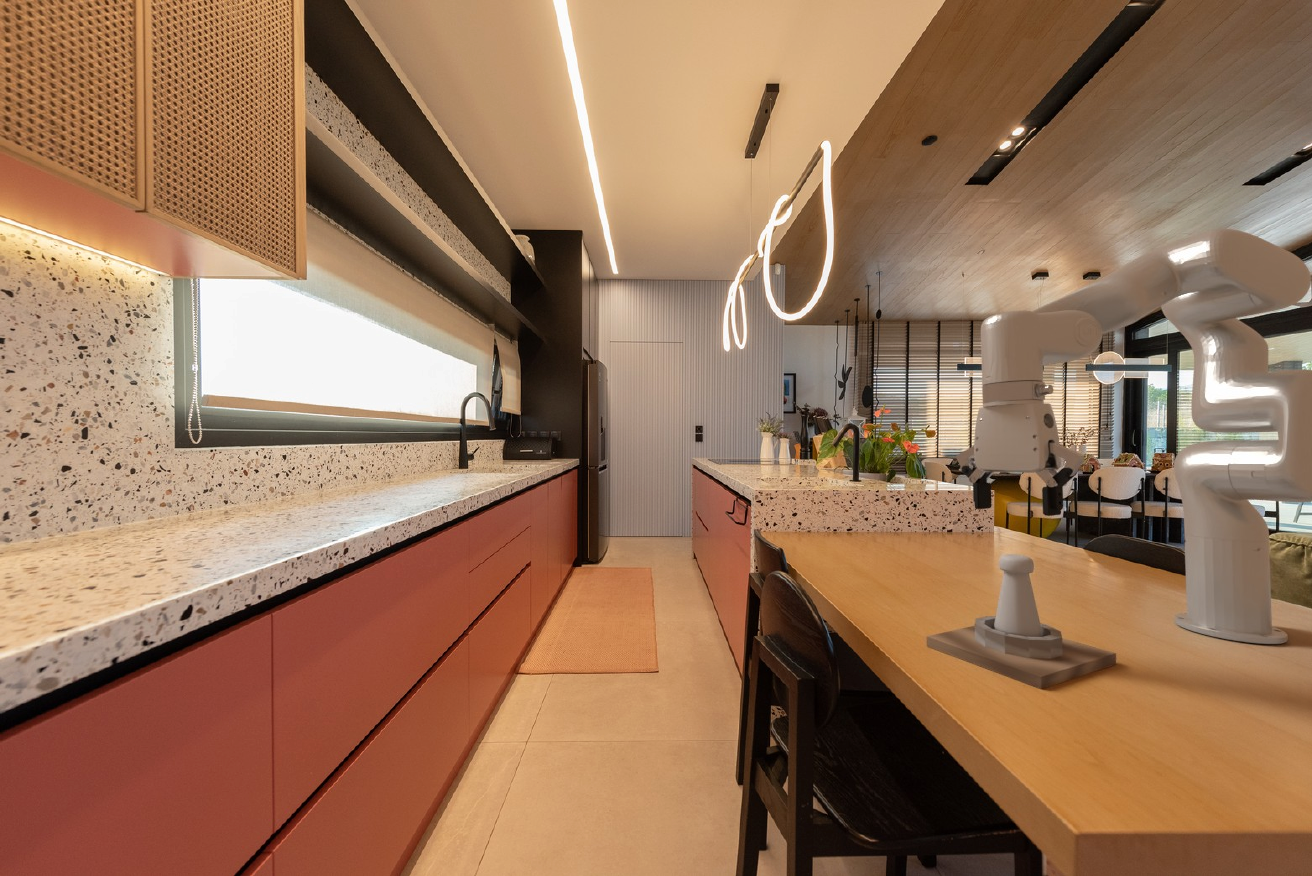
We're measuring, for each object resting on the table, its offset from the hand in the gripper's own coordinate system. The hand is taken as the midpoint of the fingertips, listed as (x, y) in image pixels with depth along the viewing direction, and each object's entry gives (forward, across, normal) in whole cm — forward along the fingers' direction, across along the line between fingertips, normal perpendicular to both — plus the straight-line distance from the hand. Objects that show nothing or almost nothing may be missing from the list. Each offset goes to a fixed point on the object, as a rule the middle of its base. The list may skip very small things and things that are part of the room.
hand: (1015, 511), depth 77 cm
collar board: (+21, 0, 0) cm, 21 cm away
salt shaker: (+20, 0, 0) cm, 20 cm away
